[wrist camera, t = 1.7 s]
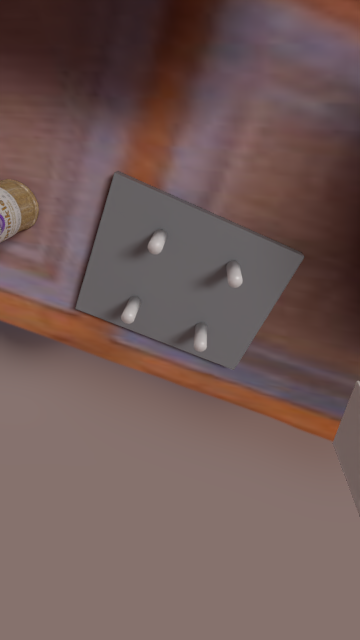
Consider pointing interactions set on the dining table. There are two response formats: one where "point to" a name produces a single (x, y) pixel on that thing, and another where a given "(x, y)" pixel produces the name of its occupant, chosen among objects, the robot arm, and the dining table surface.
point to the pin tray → (182, 273)
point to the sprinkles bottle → (16, 208)
